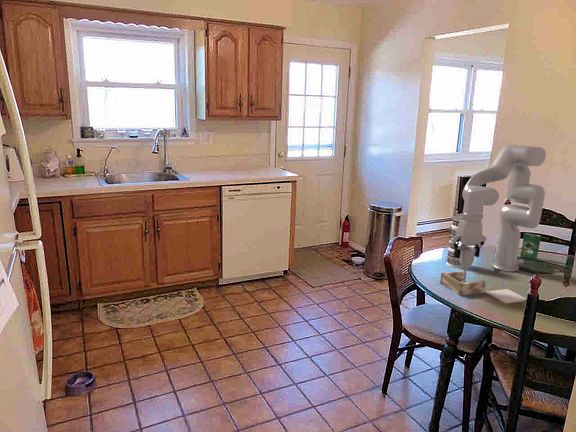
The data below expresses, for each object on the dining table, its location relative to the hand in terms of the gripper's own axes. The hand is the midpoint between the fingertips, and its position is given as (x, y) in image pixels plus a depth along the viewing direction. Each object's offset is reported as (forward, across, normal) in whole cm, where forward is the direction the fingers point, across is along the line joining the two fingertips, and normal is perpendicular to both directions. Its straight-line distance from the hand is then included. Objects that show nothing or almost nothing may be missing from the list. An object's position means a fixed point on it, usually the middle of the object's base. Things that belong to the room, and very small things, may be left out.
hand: (466, 256), depth 191 cm
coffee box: (+13, -63, -26) cm, 69 cm away
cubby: (+14, -1, 0) cm, 14 cm away
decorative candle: (+14, -17, -26) cm, 34 cm away
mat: (+14, -13, +12) cm, 23 cm away
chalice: (+14, -1, 0) cm, 14 cm away
